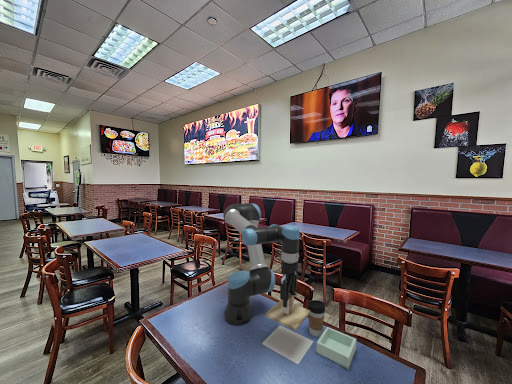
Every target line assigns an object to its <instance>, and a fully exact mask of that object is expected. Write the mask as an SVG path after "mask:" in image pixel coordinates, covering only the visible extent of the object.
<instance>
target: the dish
mask: <svg viewBox="0 0 512 384" xmlns="http://www.w3.org/2000/svg"><path fill="white" fill-rule="evenodd" d="M356 351H357V338H355V337H353V336H350V335H348V334H345V333H343V332H341V331H338V330H336V329H333V328H331V327H329V326H326V327H325V329H324V330H323V331H322V335H321V336H319V338H318V340H317V341H316V352H315V353H317V354H319V355H320V356H322V357H324V358H327V359H328V360H331V361H333V362H334V363H335V364H338V365H339V366H340V367H341V368H343V369H345V370H347V371H349V369H350V367H351V364H352V361H353V359H354V357H355V354H356Z"/></svg>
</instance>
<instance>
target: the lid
mask: <svg viewBox="0 0 512 384" xmlns="http://www.w3.org/2000/svg"><path fill="white" fill-rule="evenodd" d="M288 299H289V314H288V315H287V314H285V313H283V300H281V299H280V300H279V301H278V302H277V303H275V305H273V306H272V307H271V308H270V309H269V310H267V312H265V313H264V317H266V318H267V319H270V320H272V321H274V322H276V323H278V324H280V325H281V326H283V327H285V328H287V329H289V330H291V331H293V332H295V331H297V330H298V329H299V328H300V326H301V325H302V324H303V323H304V321H305V320H306V319H307V318H308V315H309V314H310V310H308V308H305V307H302V306H301V305H298V304H296V303H293V310H292V301H293V297H292V296H290V295H289V297H288Z"/></svg>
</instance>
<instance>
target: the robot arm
mask: <svg viewBox="0 0 512 384" xmlns="http://www.w3.org/2000/svg"><path fill="white" fill-rule="evenodd" d="M222 214H223V215H222V217H223V220H224V221H225V222H226V223H227V225H230V226H232V227H233V228H234V229H235V230H236V231H237V232H238V233H240V234H241V241H242V244H243V245H244V246H246V247H247V252H248V257H249V264H250V268H249V270H248V271H247V270H238V271H235V272H232V273H231V274H230V275H229V276H228V280H227V282H228V283H227V305H226V307H225V310H224V320H225V321H226V323H228V324H230V325H234V326H243V325H246V324H248V323H249V322H251V321H252V318H253V310H252V308H251V304H250V297H253V296H258V295H262V294H267V293H269V292H272V291H273V290H274V288H275V286H276V276H275V273H274V270H272V269H270V267H269V265H268V264H266V260H265V256H264V251H263V246H262V245H264V244H270V243H279V244H280V245H281V258H280V259H281V261H280V268H281V270H282V271H283V274H282V278H279V284H280V285H279V290H280V291H279V299H280V300H283V313H285V314H287V315H288V314H289V299H288V297H289V295H290V296H292V297H293V301H292V310H293V304H295V302H294V299H295V296H296V295H297V293H296V292H297V288H298V287H297V286H298V276H299V271H298V270H299V258H300V255H299V250H300V227H299V226H296V225H293V224H292V225H290V224H288V225H287V224H286V225H283V226H281V225H280V224H275V223H274V224H271V225H270V226H263V227H259V226H258V225H259V223H260V220H261V219H262V213H261V209H260V207H259V205H258V204H257V203H250V202H249V203H234V204H230V205H229V206H228V205H227V207H225V210H224V211H223V213H222Z"/></svg>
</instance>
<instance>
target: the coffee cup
mask: <svg viewBox="0 0 512 384" xmlns="http://www.w3.org/2000/svg"><path fill="white" fill-rule="evenodd" d="M306 306H307V308H306V309H307V310H310V314H309V315H308V316H307V318H308V319H307V320H308V332H309V334H310V335H311V336H313V337H317V338H318V337H319V338H320V337H321V335H322V334H323V328H324V322H325V321H324V320H325V312H326V304H325V302H324V301H321V300H318V299H317V300H316V299H314V300H309V301H308V302H307V305H306Z"/></svg>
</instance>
